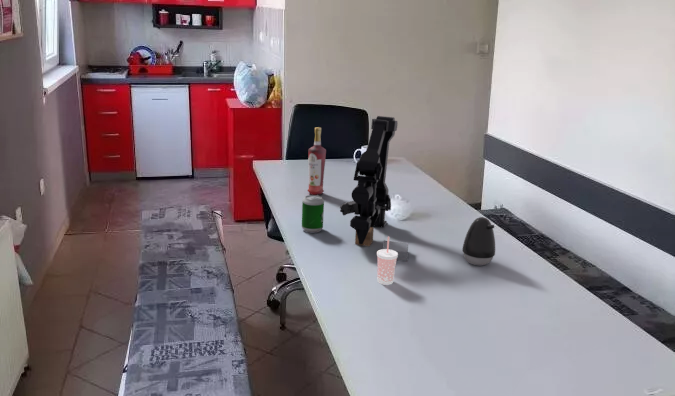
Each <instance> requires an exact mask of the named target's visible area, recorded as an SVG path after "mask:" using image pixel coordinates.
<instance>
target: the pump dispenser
mask: <svg viewBox="0 0 675 396" xmlns="http://www.w3.org/2000/svg"><path fill="white" fill-rule="evenodd" d="M494 229H495V225H494V224H492V222H491V221H490V220H489V219H488V218H486V217H483V216H479V217H477V218H475V220H473V222H472V223H471V225H470V226H469V228H468V230H467V232H466V235H465V237H464V240H463V244H462V249H461V250H462V253H463V257H464V259H465V260H466V262H468V264H471V265H474V266H480V267H481V266H485V265H488V264H489V263H491V262H492V260H493V259H494V257H495V256H496V237H495V233H494Z"/></svg>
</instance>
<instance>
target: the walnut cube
mask: <svg viewBox="0 0 675 396" xmlns="http://www.w3.org/2000/svg"><path fill="white" fill-rule="evenodd" d="M374 231H375V229H374V227H373V228H372V227H370V229H369V232H368V234H367V236H366V238H365V240H364V242H363V244H362V245H361V244H359V240H358V236H357V232H356V231H355V239H354V241H355V242H354V244H355V245H359V246H365V247H370V246H371V245H372V244H373V241H374Z"/></svg>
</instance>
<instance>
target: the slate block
mask: <svg viewBox="0 0 675 396" xmlns="http://www.w3.org/2000/svg"><path fill="white" fill-rule="evenodd" d="M387 241H388V240H384V241H383V244H382V245H383V246H382V249H387ZM409 245H410V244H409V242H402V241H393V240H392V241H391V240H389V249H390V250H394V251H396V252H397V253H398V257H397V259H396V261H402V262H408V255H409Z"/></svg>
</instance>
